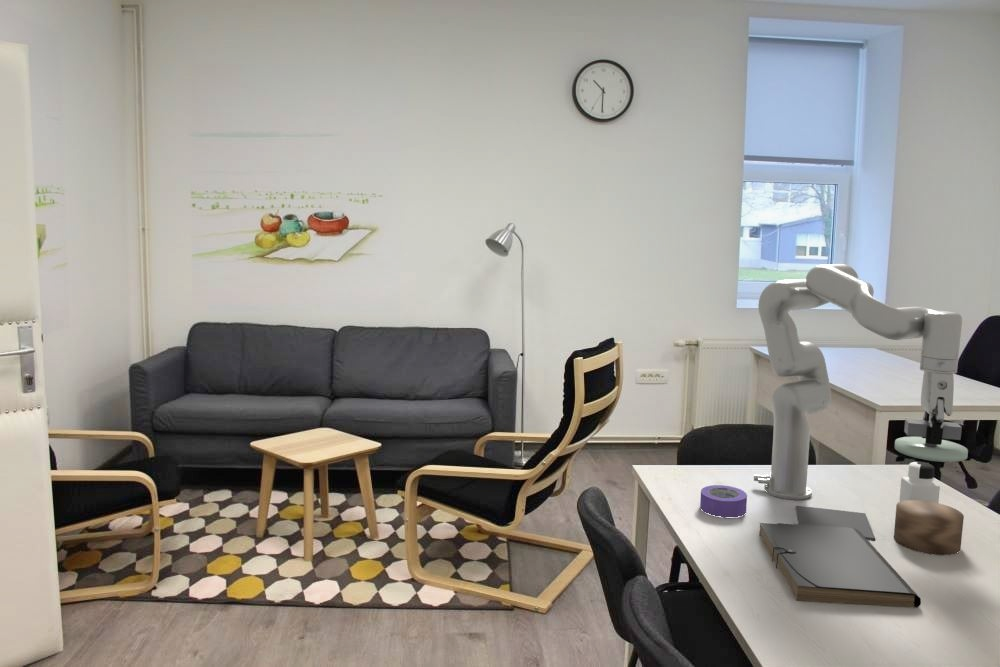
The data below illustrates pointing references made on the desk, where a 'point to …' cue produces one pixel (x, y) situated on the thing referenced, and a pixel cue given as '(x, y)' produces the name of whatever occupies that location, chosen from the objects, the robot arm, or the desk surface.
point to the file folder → (835, 566)
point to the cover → (931, 451)
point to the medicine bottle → (919, 483)
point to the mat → (834, 519)
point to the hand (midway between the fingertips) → (931, 440)
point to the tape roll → (723, 501)
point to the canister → (928, 527)
